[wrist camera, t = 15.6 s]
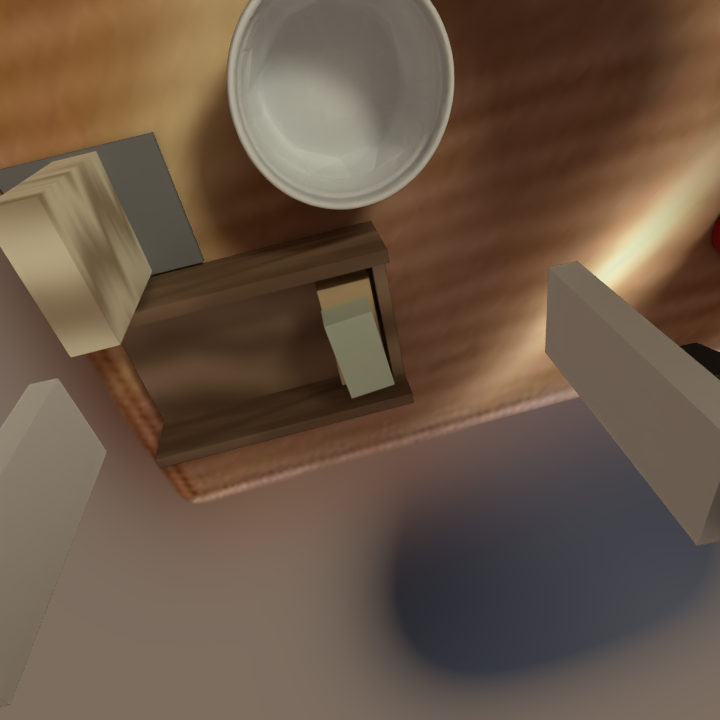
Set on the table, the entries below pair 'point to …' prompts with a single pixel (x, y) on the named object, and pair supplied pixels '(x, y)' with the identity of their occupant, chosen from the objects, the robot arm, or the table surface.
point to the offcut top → (357, 346)
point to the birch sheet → (75, 252)
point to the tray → (256, 345)
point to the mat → (136, 198)
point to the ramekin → (340, 95)
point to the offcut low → (345, 294)
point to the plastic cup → (716, 236)
